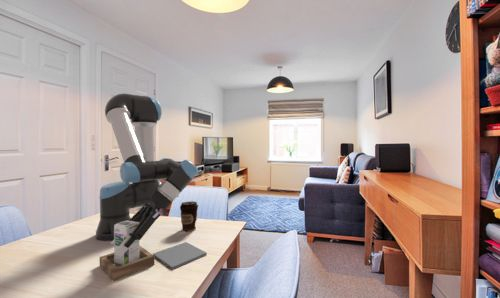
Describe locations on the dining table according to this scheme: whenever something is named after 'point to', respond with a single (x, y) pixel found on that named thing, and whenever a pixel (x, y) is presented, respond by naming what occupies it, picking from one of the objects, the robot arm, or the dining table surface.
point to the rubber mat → (179, 255)
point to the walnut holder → (128, 268)
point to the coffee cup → (188, 215)
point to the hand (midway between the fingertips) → (115, 249)
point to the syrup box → (119, 236)
